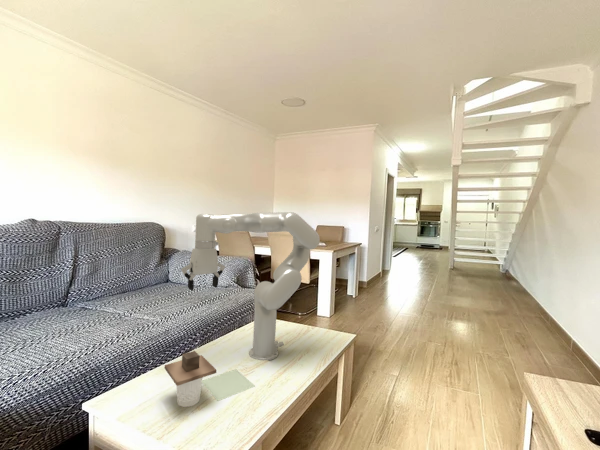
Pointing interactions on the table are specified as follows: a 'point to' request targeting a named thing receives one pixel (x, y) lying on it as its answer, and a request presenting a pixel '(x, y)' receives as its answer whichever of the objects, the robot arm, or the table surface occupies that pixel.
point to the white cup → (189, 393)
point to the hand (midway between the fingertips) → (203, 288)
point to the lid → (189, 368)
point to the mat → (227, 384)
